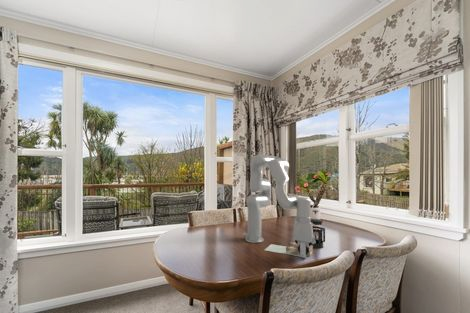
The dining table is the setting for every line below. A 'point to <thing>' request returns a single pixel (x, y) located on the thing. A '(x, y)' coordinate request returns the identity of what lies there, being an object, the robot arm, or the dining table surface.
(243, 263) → the dining table surface
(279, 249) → the mat
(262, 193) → the robot arm
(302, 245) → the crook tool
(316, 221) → the french press
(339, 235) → the dining table surface
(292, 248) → the frame
